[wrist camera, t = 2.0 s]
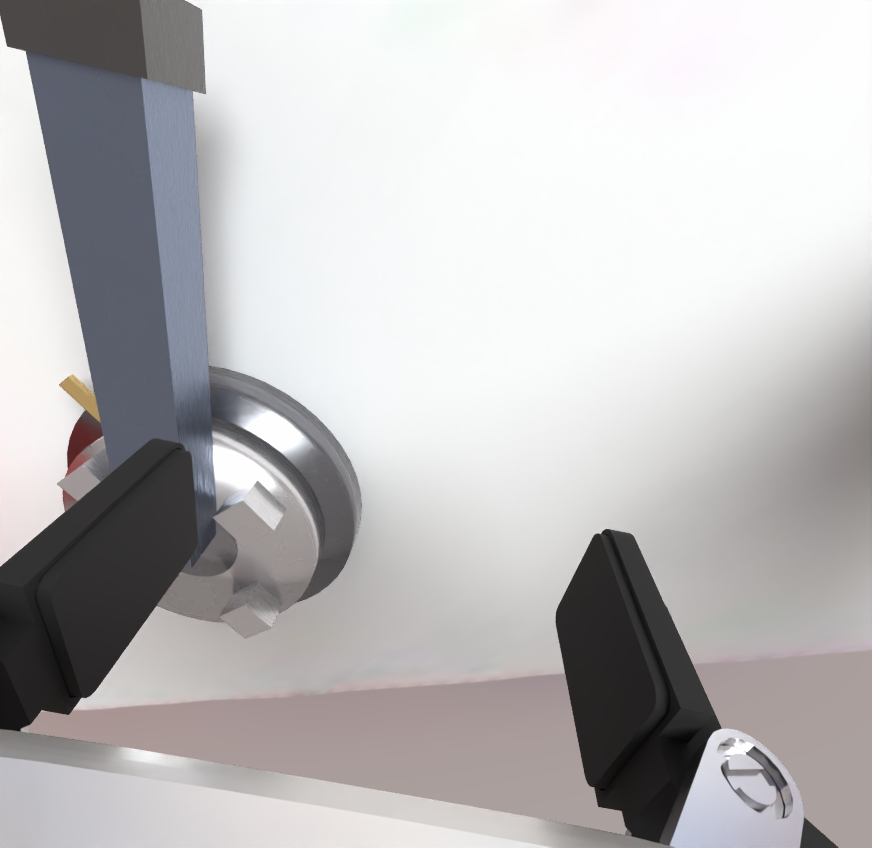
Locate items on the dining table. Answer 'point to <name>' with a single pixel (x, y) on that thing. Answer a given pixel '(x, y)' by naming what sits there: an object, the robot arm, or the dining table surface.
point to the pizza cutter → (157, 292)
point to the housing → (287, 433)
